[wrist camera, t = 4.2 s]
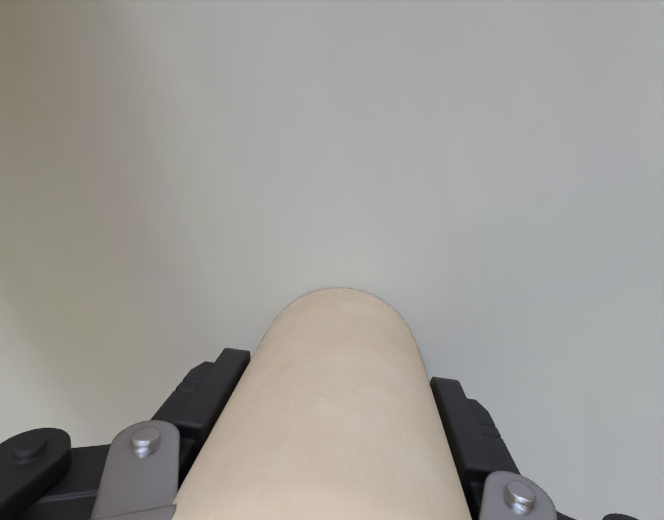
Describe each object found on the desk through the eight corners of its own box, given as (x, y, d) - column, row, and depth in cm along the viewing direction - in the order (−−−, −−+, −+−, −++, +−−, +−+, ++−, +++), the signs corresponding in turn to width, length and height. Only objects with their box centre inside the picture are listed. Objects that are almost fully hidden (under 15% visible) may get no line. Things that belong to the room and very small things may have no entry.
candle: (403, 436, 14) (496, 1016, 5) (258, 413, 14) (51, 921, 5) (431, 297, 13) (651, 709, 3) (270, 274, 13) (12, 596, 3)
